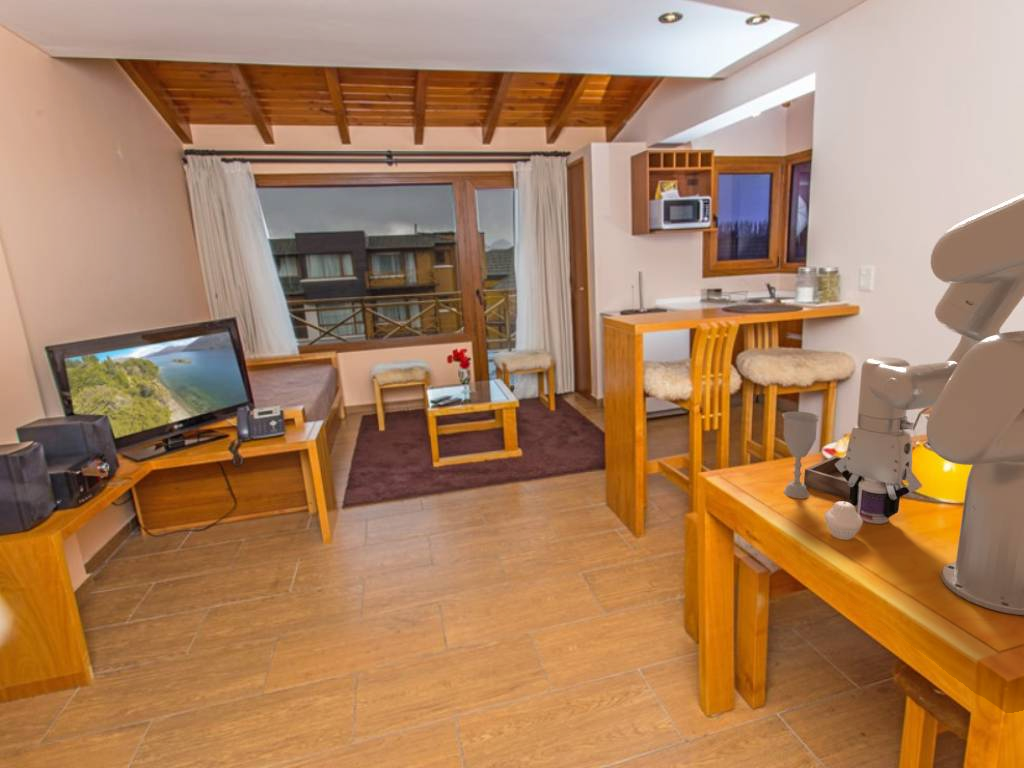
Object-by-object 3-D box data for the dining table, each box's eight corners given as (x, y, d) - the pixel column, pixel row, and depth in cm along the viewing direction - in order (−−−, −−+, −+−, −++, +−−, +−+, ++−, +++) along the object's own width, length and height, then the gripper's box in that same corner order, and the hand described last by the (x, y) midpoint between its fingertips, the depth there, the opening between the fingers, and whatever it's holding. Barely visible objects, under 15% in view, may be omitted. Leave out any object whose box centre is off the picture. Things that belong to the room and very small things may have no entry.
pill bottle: (895, 523, 103) (899, 477, 101) (866, 525, 103) (870, 479, 101) (876, 510, 108) (881, 466, 106) (850, 512, 109) (853, 468, 106)
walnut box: (892, 488, 117) (894, 471, 116) (863, 505, 111) (864, 487, 110) (834, 471, 128) (835, 455, 127) (803, 486, 122) (804, 469, 121)
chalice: (772, 493, 119) (776, 416, 115) (785, 484, 123) (789, 409, 119) (807, 503, 114) (812, 423, 109) (820, 493, 118) (825, 415, 114)
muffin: (842, 547, 97) (845, 512, 95) (815, 531, 103) (817, 498, 101) (869, 540, 98) (872, 505, 97) (841, 525, 104) (844, 492, 103)
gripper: (943, 428, 96) (932, 520, 100) (844, 409, 110) (838, 490, 115) (924, 438, 92) (913, 532, 96) (824, 417, 107) (818, 500, 111)
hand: (872, 508), depth 105 cm, fingers closed on pill bottle, 5 cm apart
